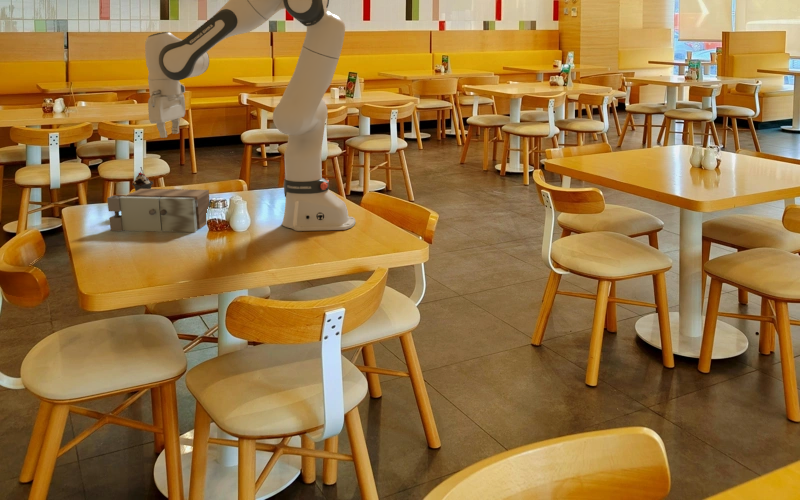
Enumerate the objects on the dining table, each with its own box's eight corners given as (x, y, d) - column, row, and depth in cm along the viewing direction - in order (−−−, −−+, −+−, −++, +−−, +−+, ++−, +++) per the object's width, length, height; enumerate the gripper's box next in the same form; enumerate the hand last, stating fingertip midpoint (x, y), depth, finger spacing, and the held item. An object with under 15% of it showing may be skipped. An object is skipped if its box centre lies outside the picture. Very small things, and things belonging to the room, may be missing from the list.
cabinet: (211, 221, 246) (208, 189, 243) (193, 233, 231) (190, 200, 228) (135, 219, 248) (132, 188, 245) (113, 231, 234) (109, 198, 231)
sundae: (148, 210, 261) (143, 165, 257) (159, 212, 257) (155, 167, 253) (130, 213, 256) (126, 168, 252) (142, 216, 252) (137, 170, 248)
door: (165, 229, 236) (162, 196, 233) (159, 232, 232) (156, 199, 229) (116, 228, 238) (112, 195, 235) (110, 231, 234) (106, 198, 231)
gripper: (161, 91, 223) (166, 139, 226) (186, 86, 242) (191, 131, 246) (140, 91, 223) (145, 140, 227) (167, 87, 243) (172, 131, 247)
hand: (169, 135), depth 237 cm, fingers open, 8 cm apart
